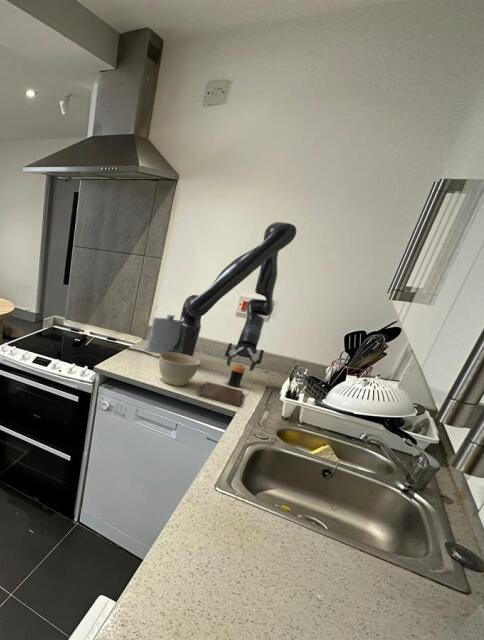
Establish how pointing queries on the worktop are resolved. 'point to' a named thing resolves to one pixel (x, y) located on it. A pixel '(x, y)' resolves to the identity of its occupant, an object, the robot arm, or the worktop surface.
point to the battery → (236, 375)
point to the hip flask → (163, 334)
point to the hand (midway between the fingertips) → (239, 367)
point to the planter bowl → (177, 368)
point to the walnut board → (221, 393)
